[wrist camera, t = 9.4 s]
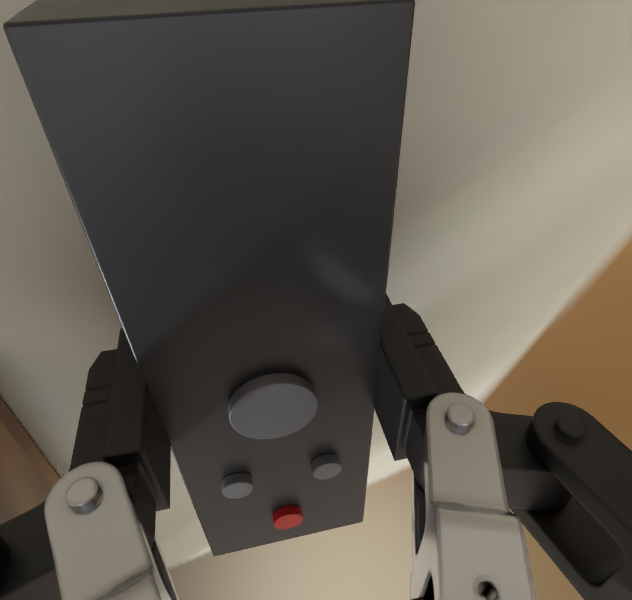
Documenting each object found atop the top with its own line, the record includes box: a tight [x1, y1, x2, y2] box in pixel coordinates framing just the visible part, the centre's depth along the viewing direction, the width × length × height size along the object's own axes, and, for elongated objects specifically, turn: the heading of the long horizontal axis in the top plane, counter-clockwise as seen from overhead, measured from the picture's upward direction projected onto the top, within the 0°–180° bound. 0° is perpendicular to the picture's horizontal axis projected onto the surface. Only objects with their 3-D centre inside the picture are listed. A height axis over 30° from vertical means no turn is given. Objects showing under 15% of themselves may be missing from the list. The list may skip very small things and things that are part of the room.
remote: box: [3, 0, 415, 556], centre depth 12 cm, size 15×5×4 cm, turn 1°
